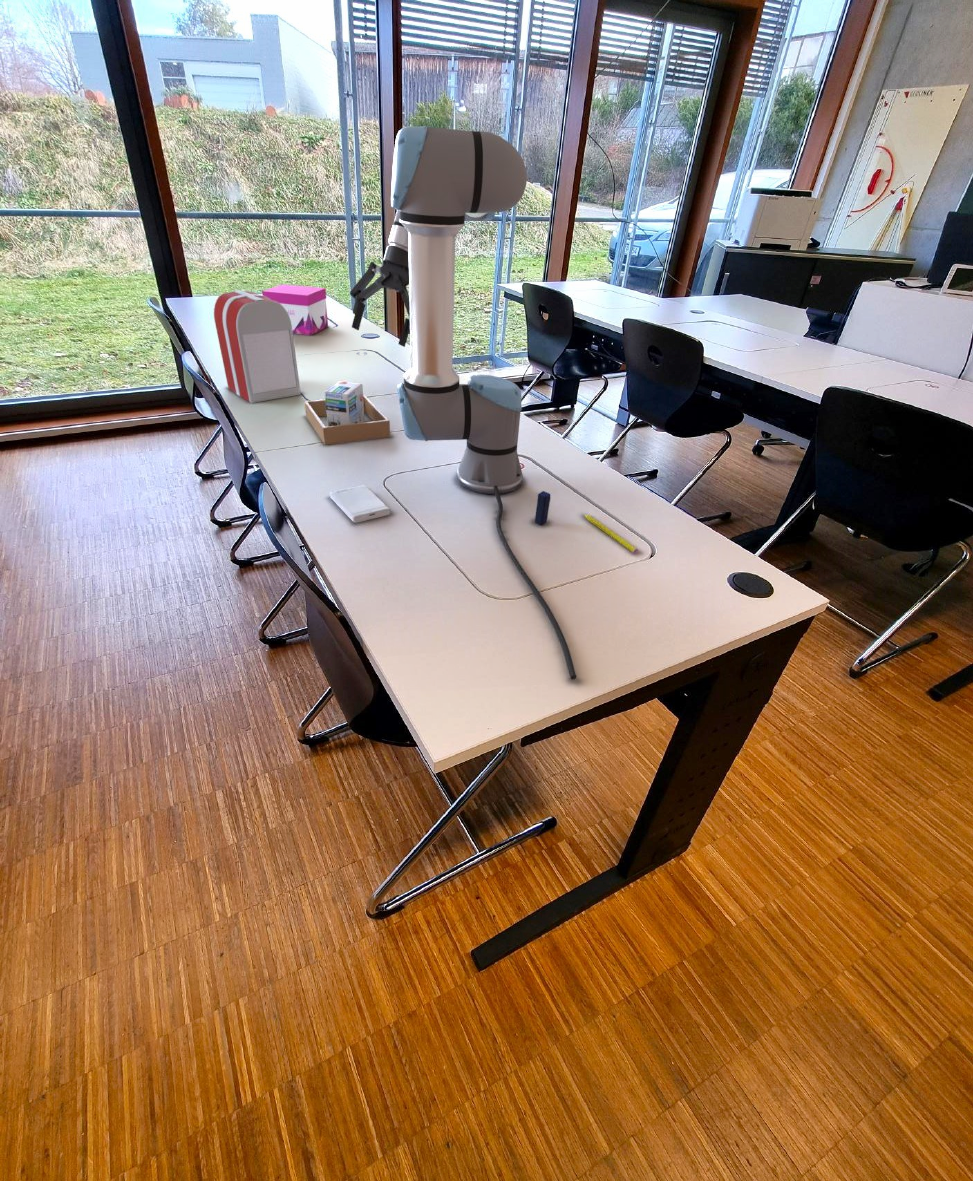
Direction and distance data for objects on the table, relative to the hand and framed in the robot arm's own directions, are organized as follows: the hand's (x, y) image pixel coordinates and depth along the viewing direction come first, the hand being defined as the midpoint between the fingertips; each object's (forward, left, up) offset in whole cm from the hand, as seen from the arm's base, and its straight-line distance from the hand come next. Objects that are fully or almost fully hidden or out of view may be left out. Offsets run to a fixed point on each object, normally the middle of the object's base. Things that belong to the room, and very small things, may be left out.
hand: (378, 337), depth 152 cm
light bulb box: (-1, +10, -23) cm, 25 cm away
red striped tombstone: (+37, +26, -23) cm, 51 cm away
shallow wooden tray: (-1, +10, -23) cm, 25 cm away
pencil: (-76, -24, -23) cm, 82 cm away
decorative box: (+117, -2, -23) cm, 120 cm away
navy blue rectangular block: (-67, -13, -23) cm, 71 cm away
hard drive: (-47, +20, -23) cm, 56 cm away
